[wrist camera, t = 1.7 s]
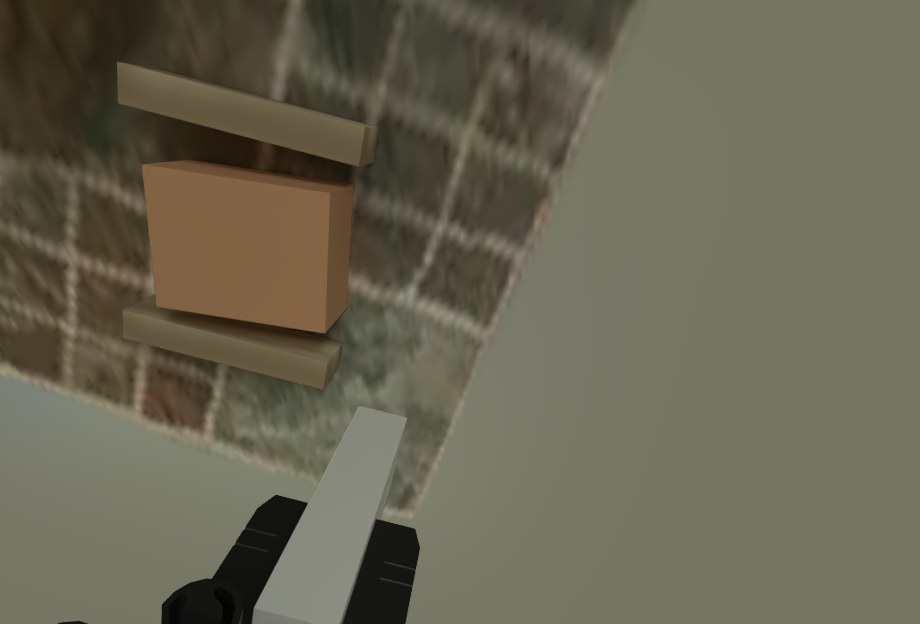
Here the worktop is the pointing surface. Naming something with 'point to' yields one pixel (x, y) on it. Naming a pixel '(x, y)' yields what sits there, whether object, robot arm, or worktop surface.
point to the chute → (265, 122)
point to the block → (249, 243)
